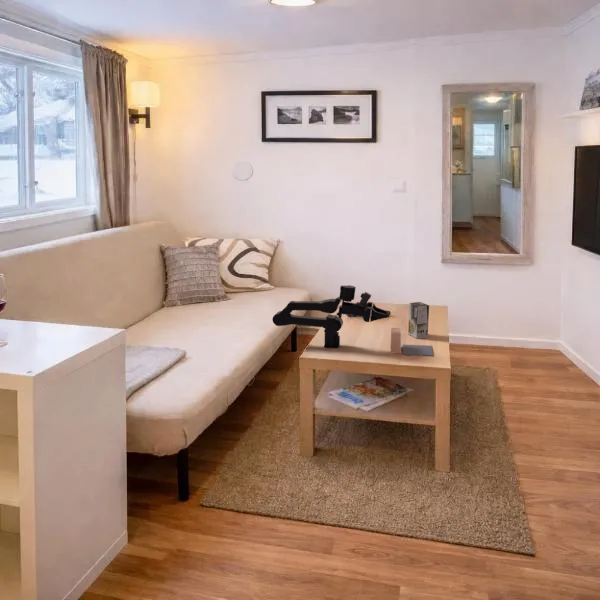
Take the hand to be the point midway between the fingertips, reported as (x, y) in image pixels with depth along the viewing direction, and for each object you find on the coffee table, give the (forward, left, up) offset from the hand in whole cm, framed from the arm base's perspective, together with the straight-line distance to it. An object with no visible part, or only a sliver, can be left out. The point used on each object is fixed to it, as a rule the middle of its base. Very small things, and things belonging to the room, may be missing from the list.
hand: (387, 314), depth 292 cm
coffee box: (+15, +25, -16) cm, 33 cm away
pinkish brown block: (+4, -1, -16) cm, 17 cm away
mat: (+14, -1, -16) cm, 21 cm away
